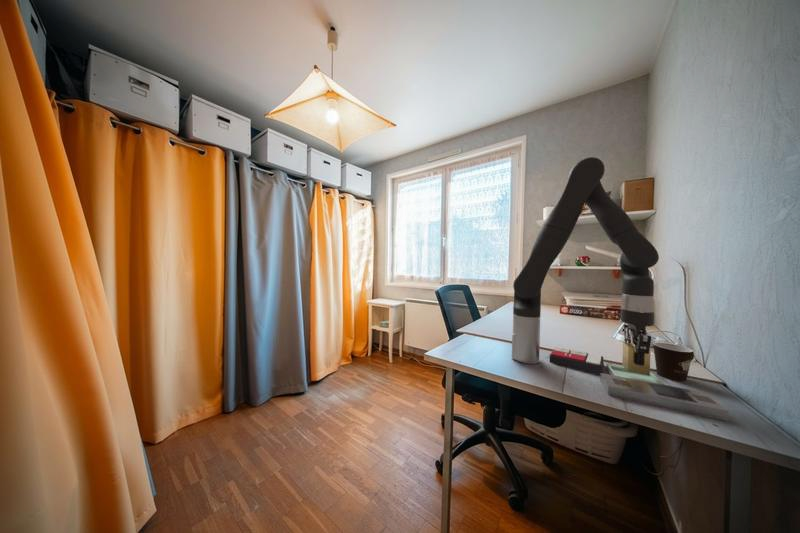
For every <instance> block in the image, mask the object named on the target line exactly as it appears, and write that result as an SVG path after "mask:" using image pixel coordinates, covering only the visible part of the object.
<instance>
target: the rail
mask: <svg viewBox="0 0 800 533" xmlns="http://www.w3.org/2000/svg"><path fill="white" fill-rule="evenodd" d="M599 382H600V384H601V385H602V387H603V388H604V390H605V392H606V393H607V395H608V396H612V397H617V398H622V399H627V400H630V401H635V402H639V403H644V404H648V405H652V406H658V407H662V408H667V409H671V410H674V411H675V410H676V411H681V412H684V413H689V414H692V415H693V414H694V415H699V416H702V417H708V418H712V419H717V420H720V421H721V420H722V421H725V422H729V416H730V414H729V413H730V411H729V410H728V409H727V408H725V407H724V406H723V405H721V404H720V403H719V402H718V401H716V400H714V399H713V398H712V397H711V396H710V395H708V394H707V393H705V392H704V391H699V390H698V391H697V390H693V389H688V388H683V387H676V386H671V385H666V384H665V385H662V384H657V383H651V382H646V381H641V380H635V379H630V378H625V377H619V376H614V375H611V374H610V373H609V374H608V373H600V375H599Z"/></svg>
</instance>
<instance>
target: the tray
mask: <svg viewBox="0 0 800 533" xmlns="http://www.w3.org/2000/svg"><path fill="white" fill-rule="evenodd" d="M606 370H607V372H608V373H609V375H614V376H619V377H625V378H630V379H635V380H641V381H646V382H651V383H657V384H662V385H666V384H665V383H663V382H662V380H660V379H659V378H658V377H657V376H656V375H655V374H654V373H653V372H652V371H650V375H645V374H639V373H634V372H628V371H627V370H626V369H625V368H624V367H623V366H618V365H613V364H606Z"/></svg>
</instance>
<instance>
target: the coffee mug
mask: <svg viewBox="0 0 800 533" xmlns="http://www.w3.org/2000/svg"><path fill="white" fill-rule="evenodd" d="M652 345H653V353H654V360H655V368H656V374H657V375H658V376H659V377H661V378H664V379H666V380H671V381H674V382H680V383H681V382H683V383H685V382H687V379H688V376H689V372H690V366H691V363H692V361H693V359H694V358H695V353H694V349H691V348H689V347H686V346H684V345H679V344H673V343H668V342H662V341H661V342H660V341H659V342H658V341H657V342H656V341H655V342H652Z"/></svg>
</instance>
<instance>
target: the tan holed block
mask: <svg viewBox="0 0 800 533" xmlns="http://www.w3.org/2000/svg"><path fill="white" fill-rule="evenodd" d="M640 349H642V346H641V348H640ZM621 361H622V364H621V365H622V366H621V367H624V368H625V369H626V370H627V371H628V372H634V373H639V374H645V375H650V372H651V349H650V350H649V354H645V362H644V365H643V366H642V365H636V364H635V363H634V345H633V344H631V343H628V342H625V341H622V360H621Z"/></svg>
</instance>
